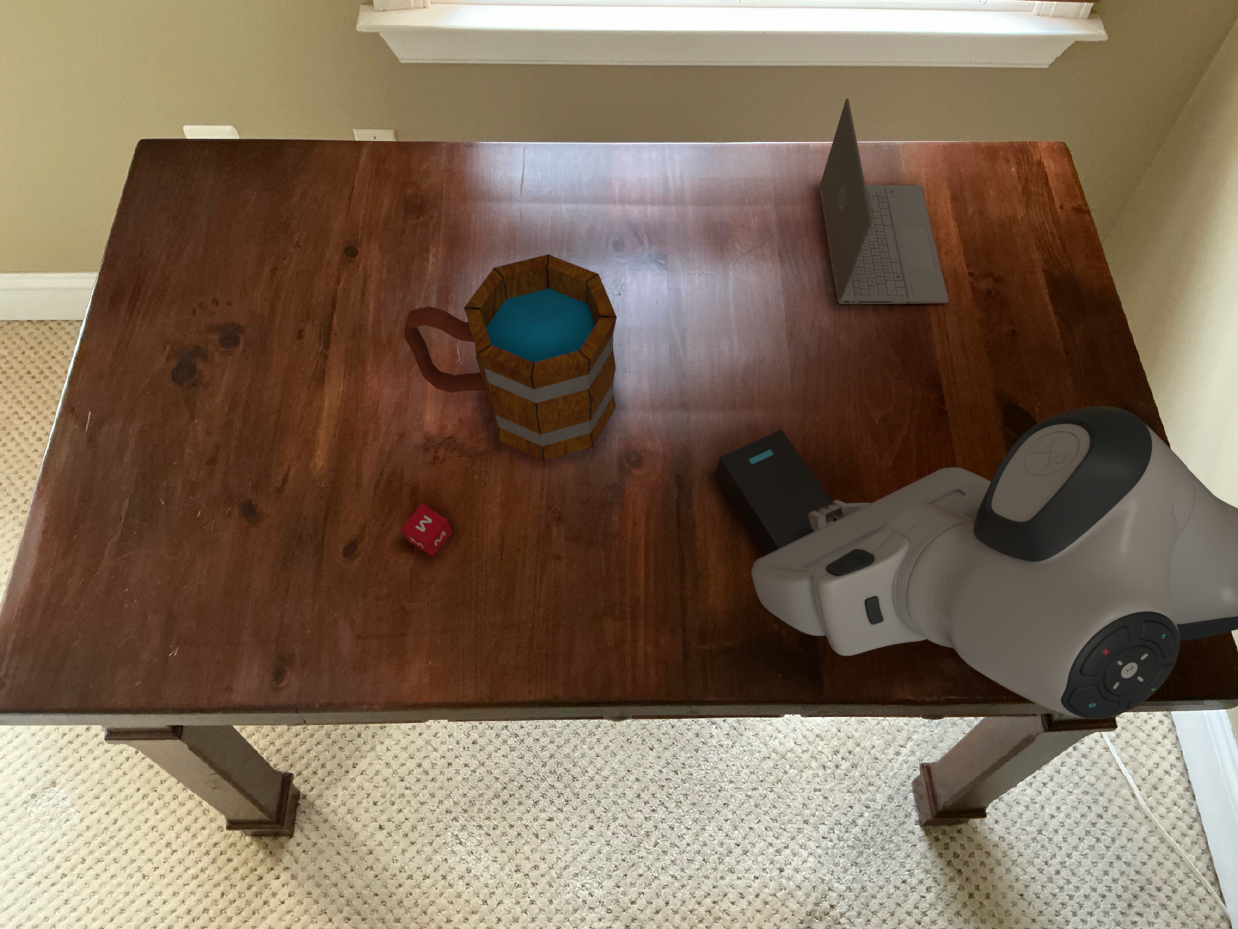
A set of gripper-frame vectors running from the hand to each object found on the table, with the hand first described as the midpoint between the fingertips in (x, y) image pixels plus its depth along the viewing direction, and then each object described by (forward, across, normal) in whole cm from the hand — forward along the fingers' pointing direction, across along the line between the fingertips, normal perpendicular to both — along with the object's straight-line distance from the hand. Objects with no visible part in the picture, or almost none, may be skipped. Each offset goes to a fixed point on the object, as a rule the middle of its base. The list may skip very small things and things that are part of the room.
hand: (823, 513), depth 72 cm
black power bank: (+2, 0, +7) cm, 7 cm away
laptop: (+26, -29, -14) cm, 41 cm away
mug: (+25, +17, -13) cm, 33 cm away
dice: (+18, +31, -6) cm, 37 cm away
